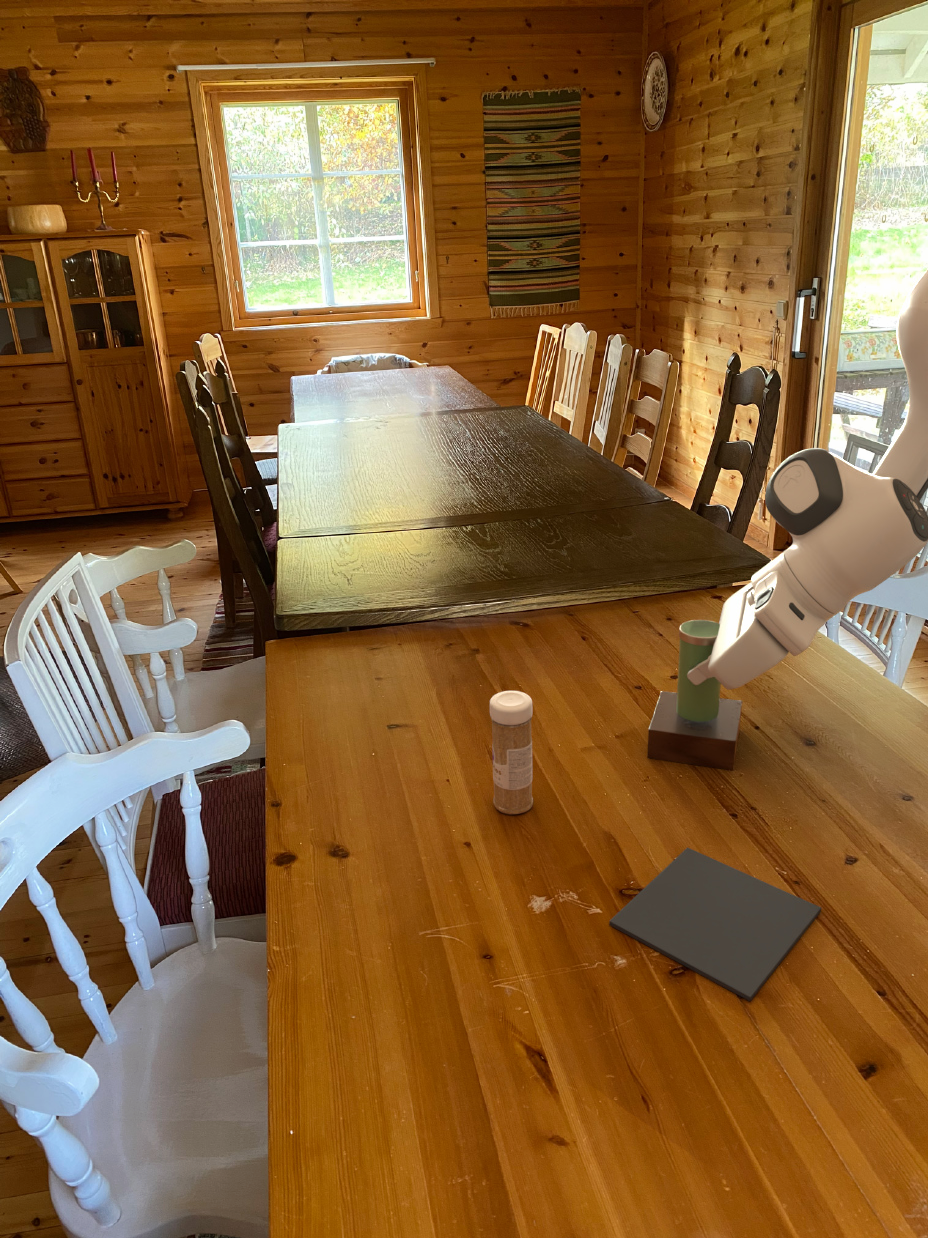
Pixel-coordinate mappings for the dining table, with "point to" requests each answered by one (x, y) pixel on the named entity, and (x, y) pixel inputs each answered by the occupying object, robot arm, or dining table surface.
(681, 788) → the dining table surface
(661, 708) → the walnut block
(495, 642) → the dining table surface
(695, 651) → the green canister
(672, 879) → the rubber mat
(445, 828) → the dining table surface
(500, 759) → the sprinkles bottle
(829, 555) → the robot arm
